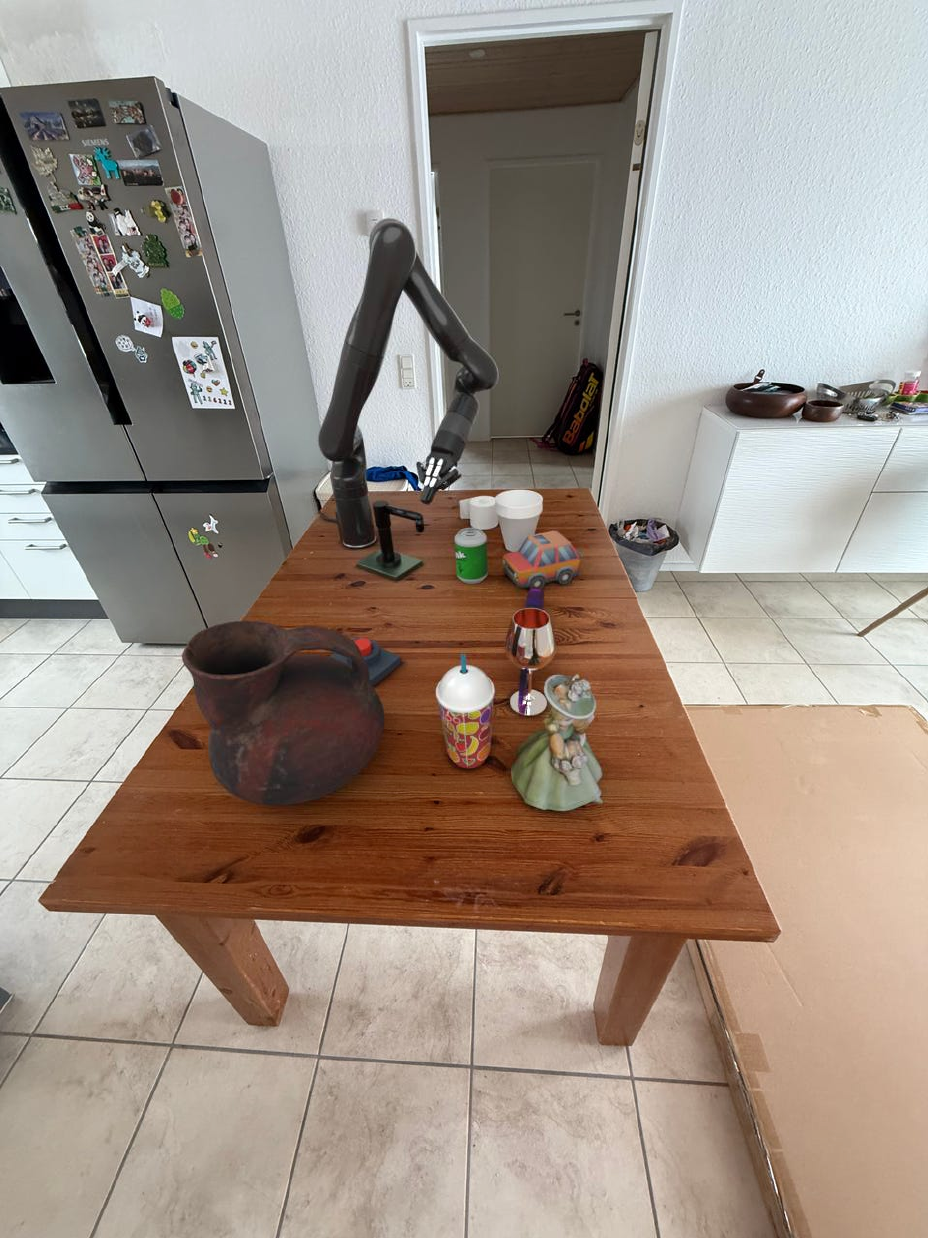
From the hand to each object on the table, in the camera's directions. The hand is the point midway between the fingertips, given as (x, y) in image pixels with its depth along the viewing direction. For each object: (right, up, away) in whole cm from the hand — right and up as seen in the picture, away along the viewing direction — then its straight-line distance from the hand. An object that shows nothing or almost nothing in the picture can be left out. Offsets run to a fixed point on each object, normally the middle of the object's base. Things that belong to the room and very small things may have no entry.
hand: (424, 502), depth 122 cm
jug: (-15, -50, -41) cm, 67 cm away
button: (-10, -34, -24) cm, 43 cm away
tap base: (-10, -14, +10) cm, 20 cm away
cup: (+24, -8, +16) cm, 30 cm away
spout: (-6, -6, +1) cm, 9 cm away
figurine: (+23, -52, -47) cm, 74 cm away
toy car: (+28, -18, +2) cm, 33 cm away
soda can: (+11, -18, +3) cm, 21 cm away
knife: (+22, -35, -22) cm, 47 cm away
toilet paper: (+14, +1, +30) cm, 33 cm away
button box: (-10, -37, -22) cm, 44 cm away
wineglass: (+21, -43, -33) cm, 58 cm away
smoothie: (+10, -49, -41) cm, 65 cm away
